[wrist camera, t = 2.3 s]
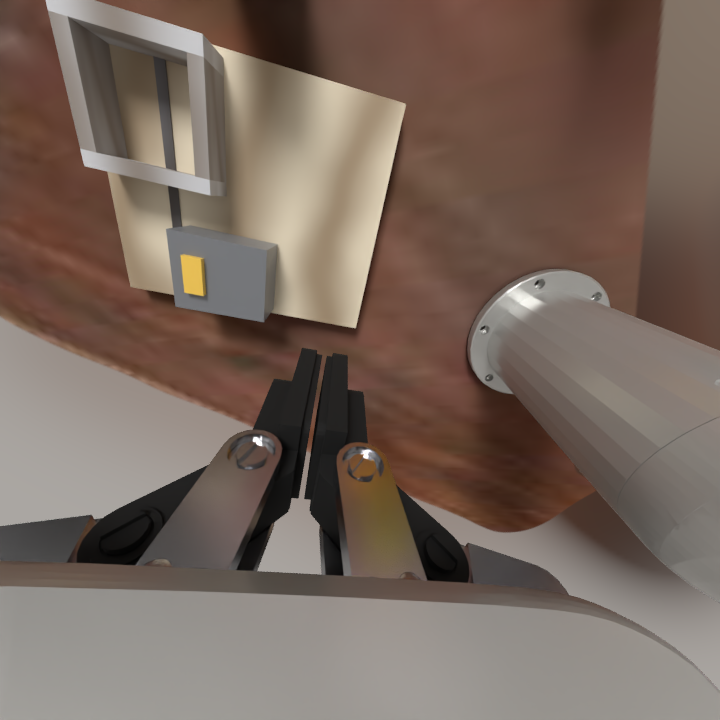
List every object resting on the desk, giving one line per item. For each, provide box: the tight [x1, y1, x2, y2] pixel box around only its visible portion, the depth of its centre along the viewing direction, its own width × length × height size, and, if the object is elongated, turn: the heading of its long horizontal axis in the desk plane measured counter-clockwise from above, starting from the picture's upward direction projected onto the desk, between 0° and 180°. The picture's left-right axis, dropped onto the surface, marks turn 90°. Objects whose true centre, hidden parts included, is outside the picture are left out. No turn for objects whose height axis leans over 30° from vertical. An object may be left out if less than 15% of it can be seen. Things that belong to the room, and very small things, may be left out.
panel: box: [46, 0, 406, 328], centre depth 18 cm, size 18×15×4 cm
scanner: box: [166, 225, 278, 322], centre depth 19 cm, size 6×5×3 cm
